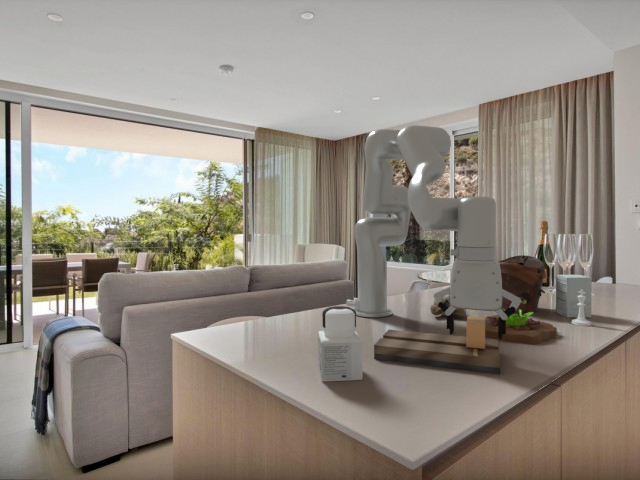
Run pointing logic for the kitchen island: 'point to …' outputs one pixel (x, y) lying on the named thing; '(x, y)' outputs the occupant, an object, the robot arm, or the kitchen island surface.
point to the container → (339, 346)
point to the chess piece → (581, 312)
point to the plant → (520, 328)
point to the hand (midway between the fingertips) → (475, 334)
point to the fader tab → (475, 332)
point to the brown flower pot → (523, 280)
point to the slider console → (438, 351)
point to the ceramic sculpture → (446, 299)
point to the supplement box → (572, 294)
